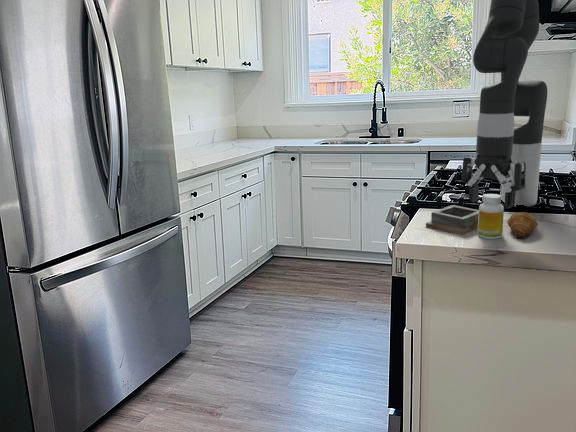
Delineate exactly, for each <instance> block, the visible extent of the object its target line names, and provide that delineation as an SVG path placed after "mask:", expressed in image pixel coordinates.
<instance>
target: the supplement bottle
mask: <svg viewBox="0 0 576 432" xmlns="http://www.w3.org/2000/svg"><path fill="white" fill-rule="evenodd" d="M478 210H479V215H478V228H477V235H478V237H479V238H482V239H484V240H498V239H501V238H502V237H503V231H504V230H503V229H504V212H505V207H504V204H502V203H501V194H497V193H485V194H482V203H481V204H480V205H479V207H478Z"/></svg>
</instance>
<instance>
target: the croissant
mask: <svg viewBox="0 0 576 432" xmlns="http://www.w3.org/2000/svg"><path fill="white" fill-rule="evenodd" d="M506 222H507V226H508V227H509V228H510V231H511V233H512V235H514V236H515V238H517V239H519V240H520V239H527V238H528V237H530V235H531V234H532V233H533V232H534V231H535V229H536V228H537V227H538V225H539V223H538V222H537V220H536V218H535V216H534V215H532V214H530V213H527V212H525V211H521V212H517V213H513V214H511V215H510V217H509V218H508V220H507V221H506Z"/></svg>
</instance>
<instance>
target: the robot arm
mask: <svg viewBox="0 0 576 432" xmlns="http://www.w3.org/2000/svg"><path fill="white" fill-rule="evenodd" d="M485 25H486V26H485V27H484V30H483V32H482V34H481V36H480V38H479V40H478V42H477V43H476V45H475V49H474V53H473V56H472V63H473V66H474V68H475V69H476V71H477V72H479V73H481V74H495V73H496V74H500V81H499V82H497V83H493V84H487V85H486V86H483V87H482V88H481V90H480V96H479V115H478V120H477V129H476V147H475V149H476V151H475V153H476V157H474V156H472V155H471V156H470V155H469V156H467V157H464V158H463V160H462V167H461V168H462V170H461V177H460V178H461V179H460V180H461V183H465V184H467V185H468V199H469V201H470V203H476V202H478V200H479V190H480V189H479V185H478V184H479V183H480V182H481V180H483V179H486V180H487V179H491V180H493V181H498V182H499V183H500V184H501V189H500V190H501V191H500V195H501V200H502V201H503V202H504V203H505V204H503V207H504V209H508V210H509V209H511V208H512V207H517V206H516V205H524V206H527V207H533V206H535V205H537V201H538V195H539V194H538V193H539V183H540V182H539V180H540V167H541V165H540V164H541V154H542V141H543V132H544V131H543V130H544V123H545V114H546V107H547V103H548V101H547V100H548V86H547V83H546V82H545V81H543V80H520V77H521V74H522V72H523V70H524V66H525V64H526V61H527V58H528V55H529V49H531V46H532V45H533V44H534V43H535V40H536V38H537V36H538V34H539V30H540V5H539V1H538V0H490V6H489V14H488V19H487V22H486V24H485ZM515 117H529V118H528V120H527V122H526V123H524V124H523V125H521V126H519V127H515ZM474 166H476V169H477V170H475V172H474V173H473V168H474ZM513 205H514V206H513Z"/></svg>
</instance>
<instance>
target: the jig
mask: <svg viewBox="0 0 576 432" xmlns="http://www.w3.org/2000/svg"><path fill="white" fill-rule="evenodd" d="M478 215H479V209H476V208H475V209H474V208H470V207H465V206H460V205H456V204H452V205H448V206H446V207H444V208H439V209H437V210H434V211H431V217H430V218H431V221H428V222H426V223H425V227H426V228H429V229H433V230H437V231H441V232H446V233H448V234H449V233H450V234H454V235H458V236H463V235H466V234H468V233H470V232H473V231H475V230H478Z"/></svg>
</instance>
